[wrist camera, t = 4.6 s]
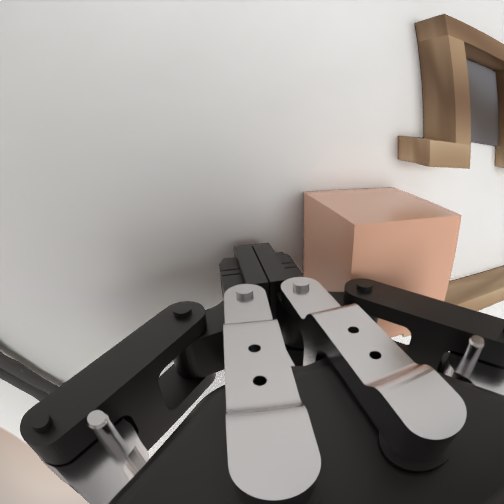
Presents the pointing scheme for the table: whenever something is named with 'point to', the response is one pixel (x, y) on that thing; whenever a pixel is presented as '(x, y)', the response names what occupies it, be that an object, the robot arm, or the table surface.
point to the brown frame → (460, 121)
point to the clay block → (379, 242)
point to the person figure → (24, 378)
